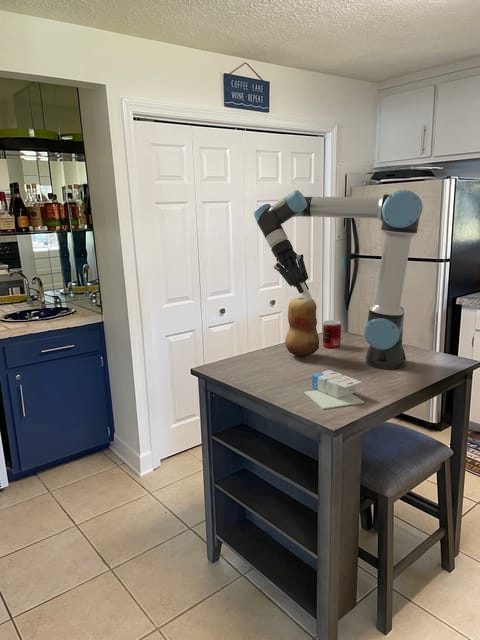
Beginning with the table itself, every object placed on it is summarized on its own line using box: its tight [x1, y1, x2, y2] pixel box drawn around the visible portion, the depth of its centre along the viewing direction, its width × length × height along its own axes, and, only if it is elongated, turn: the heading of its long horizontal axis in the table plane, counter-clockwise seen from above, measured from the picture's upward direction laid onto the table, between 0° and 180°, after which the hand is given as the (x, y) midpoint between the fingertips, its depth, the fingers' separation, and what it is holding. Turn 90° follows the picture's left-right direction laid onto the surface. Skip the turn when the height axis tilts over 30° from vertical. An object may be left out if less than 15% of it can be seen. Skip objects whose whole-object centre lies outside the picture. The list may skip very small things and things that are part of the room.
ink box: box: [311, 369, 362, 398], centre depth 153 cm, size 8×5×15 cm
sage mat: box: [303, 389, 365, 410], centre depth 150 cm, size 14×14×1 cm
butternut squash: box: [285, 295, 320, 358], centre depth 190 cm, size 14×13×25 cm
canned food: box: [322, 319, 342, 350], centre depth 204 cm, size 8×8×11 cm
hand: (308, 299), depth 170 cm, fingers closed
